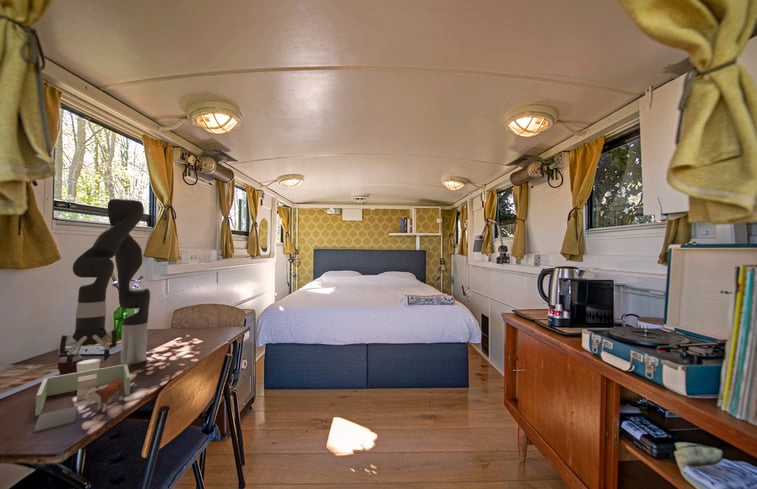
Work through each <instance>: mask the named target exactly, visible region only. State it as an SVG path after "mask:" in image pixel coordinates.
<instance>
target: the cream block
mask: <svg viewBox="0 0 757 489" xmlns="http://www.w3.org/2000/svg"><path fill="white" fill-rule="evenodd" d="M96 380H97V374H94V375H88V376H83V377H78V388H77V390H76V391H77V393H76V401H82V400H84V399H83V398H84V397H85V396H86V394H87V392H88V391H89V390H90V389H91V388H93V387H95V388H97V386H96Z"/></svg>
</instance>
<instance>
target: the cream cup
mask: <svg viewBox="0 0 757 489" xmlns="http://www.w3.org/2000/svg"><path fill="white" fill-rule="evenodd" d="M100 365H101V359H100V358H90V359H84V360H83V361H80V362H78V363H77V372H83V371H89V370H95V369H100Z"/></svg>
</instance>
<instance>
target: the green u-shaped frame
mask: <svg viewBox="0 0 757 489" xmlns="http://www.w3.org/2000/svg"><path fill="white" fill-rule="evenodd" d="M94 374H97V380H96V387H99V386H104V385H107V384H108V383H110V382H112V381H114V380H116V379H117V378H120V379H121V380H123V382H124V383H123V389H124V393H125V396H126V397H127V396H130V392H131V375H130V374H131V373H130V370H129V367H128V364H119V365H114V366H107V367H102V368H100V367H99V369H95V370H89V371H83V372H77V373H71V374H65V375H60V374H59V375H56V376H49V377H44V378H43V380H42V382H41V384H40V386H39V389H38V390H37V393H36V395H35V413H34V416H35V417H36V416H39V415H40V414H42V412H43V411H42V410H43V407H44V406H45V402H46V400H47V397H49V396H54V395H59V394H65V393H70V392H76V391H77V388H78V377H83V376H88V375H94Z"/></svg>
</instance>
